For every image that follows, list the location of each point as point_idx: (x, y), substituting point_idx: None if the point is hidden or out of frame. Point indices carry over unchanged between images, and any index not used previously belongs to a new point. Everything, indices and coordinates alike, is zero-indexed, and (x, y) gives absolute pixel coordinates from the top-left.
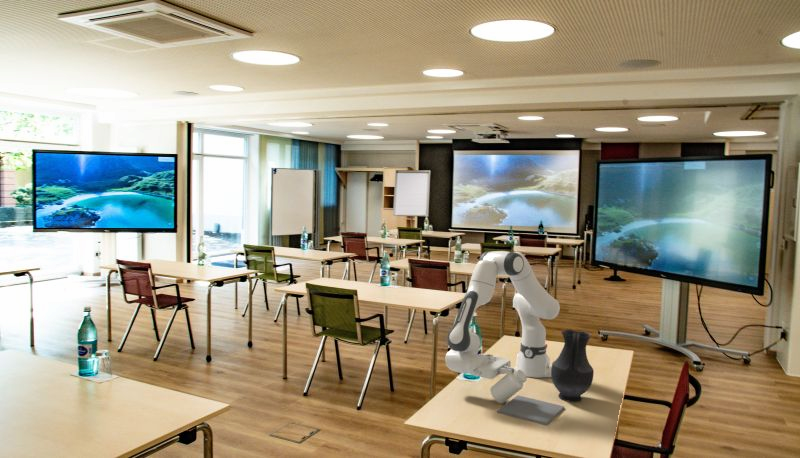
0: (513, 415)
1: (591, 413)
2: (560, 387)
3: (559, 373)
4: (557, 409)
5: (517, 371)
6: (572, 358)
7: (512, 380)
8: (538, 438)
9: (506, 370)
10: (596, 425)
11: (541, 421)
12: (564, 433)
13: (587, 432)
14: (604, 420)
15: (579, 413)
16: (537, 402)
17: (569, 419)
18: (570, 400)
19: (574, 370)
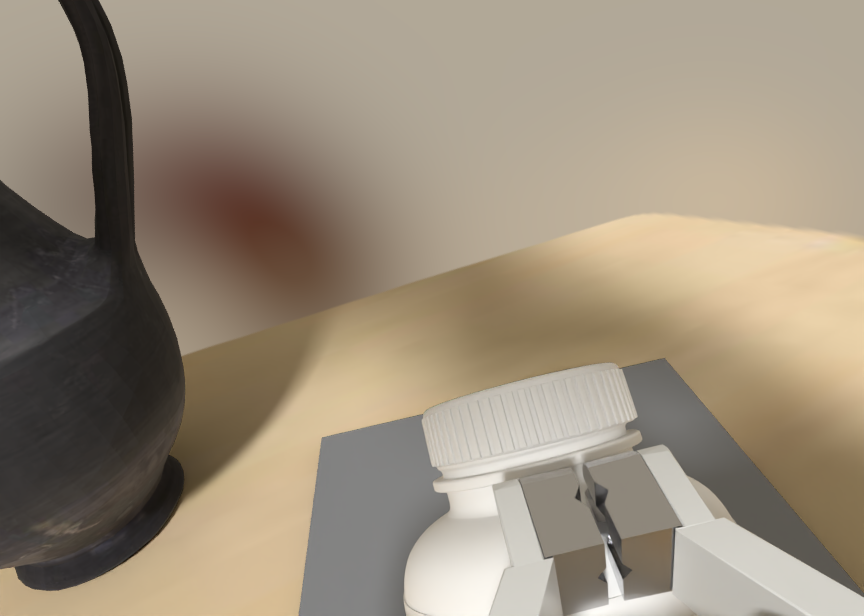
0: (821, 549)
1: (318, 359)
2: (158, 448)
3: (109, 356)
4: (405, 430)
5: (586, 369)
6: (125, 138)
7: (704, 486)
8: (857, 306)
9: (740, 544)
10: (447, 298)
11: (677, 379)
12: (656, 298)
13: (548, 280)
14: (369, 310)
15: (354, 378)
16: (363, 580)
17: (473, 362)
18: (180, 476)
19: (137, 251)
